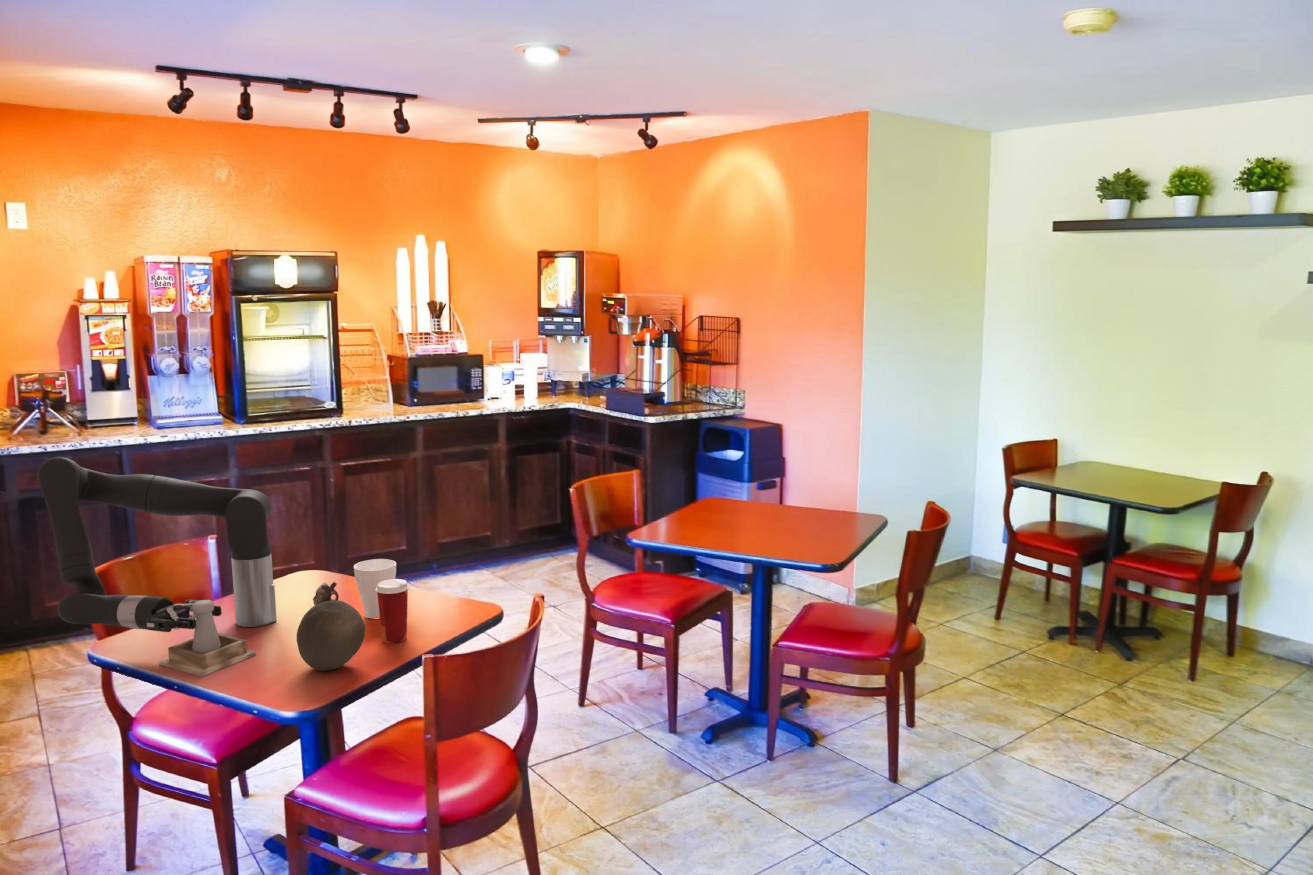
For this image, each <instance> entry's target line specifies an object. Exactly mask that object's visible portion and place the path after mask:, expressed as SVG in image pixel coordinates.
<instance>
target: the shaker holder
mask: <svg viewBox="0 0 1313 875" xmlns="http://www.w3.org/2000/svg"><path fill="white" fill-rule="evenodd" d="M217 633H218V636H219V640H220V644H221V646H220V648H219V649H216V650H214V651H211V652H208V653H206V654H203V655H202V654H199V653H195V652H193V650H192V645H193V638H192V639H191V638H190V639H189V640H186V641H182V642H180V643H177V644H175V645H171V646H170V647H168V648H167V651H168V658H165V659H163V660H160V661H159V665H160V666H163V667H166V668H170V669H173V670H177V671H180V672H184V673H187V674H190V675H194V676H198V677H202V678H203V677H205V676H208V675H209V674H212V673H215V672H218V671H220V670H222V669H225V668H227V667H229V666H232V665H235V664H237V663H240V662H242V661H245V660H247V659H250V658H252V657H255V656H256V655H257V653H256V651H254V650H250V649H247V648H248V647H247V646H248V645H247V640H246V639H243V638H239V637H235V636H233V635H232V636H231V635H227V634H224V633H221V632H220V633H219V632H217Z"/></svg>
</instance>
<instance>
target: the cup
mask: <svg viewBox="0 0 1313 875" xmlns="http://www.w3.org/2000/svg"><path fill="white" fill-rule="evenodd" d="M353 572H354V573H353V574H354V578H355V583H356V586H357V591H358V592H359V595H360V598H361V602H362V606H363V611H364V617H365V618H366V619H368V618H371V619H370V620H373V619H372V618H380V614H379V605H378V595H377V592H376V588H377V585H378V583H379V582H381V581H384V580H390V579H396V577H397V576H396V574H397V562H396V561H395V560H392V559H387V558H374V559H367V560H363V561H360V562H357V563H355V564H354V565H353Z"/></svg>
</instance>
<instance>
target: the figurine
mask: <svg viewBox="0 0 1313 875" xmlns="http://www.w3.org/2000/svg"><path fill="white" fill-rule="evenodd" d="M336 587H337V583H336V582H335V581H333V582H332V583H331V584H330V585H329V584H328V583H326V582H323V583H321V584H320V585H319V586H318V587H317V589H316V590H315V595H314V597H313V598H312V601H313V605H314V606H315V605H317V604H319V603H322V602H326V601H332V600H337V601H339V593H338V591H337V590H336ZM332 595H333V596H335V598H334V599H333V598H332Z"/></svg>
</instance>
